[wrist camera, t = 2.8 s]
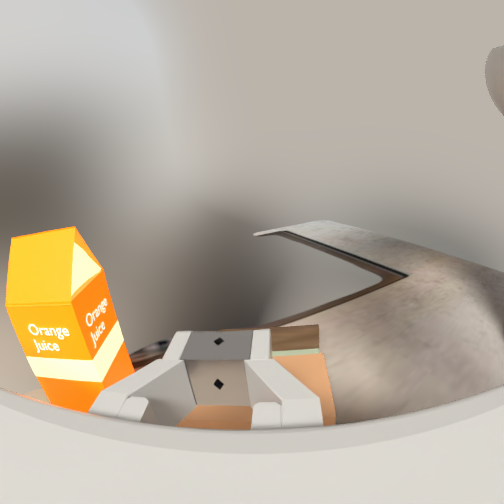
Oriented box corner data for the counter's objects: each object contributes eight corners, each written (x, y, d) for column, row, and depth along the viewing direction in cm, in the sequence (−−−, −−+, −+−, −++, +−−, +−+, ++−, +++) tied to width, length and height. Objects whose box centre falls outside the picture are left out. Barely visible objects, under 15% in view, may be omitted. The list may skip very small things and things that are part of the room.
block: (323, 493, 18) (336, 416, 14) (206, 494, 18) (173, 418, 15) (318, 438, 23) (323, 353, 20) (217, 441, 24) (194, 357, 21)
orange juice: (122, 424, 26) (53, 237, 20) (57, 416, 26) (-14, 249, 20) (138, 379, 34) (93, 216, 28) (80, 376, 34) (30, 228, 28)
